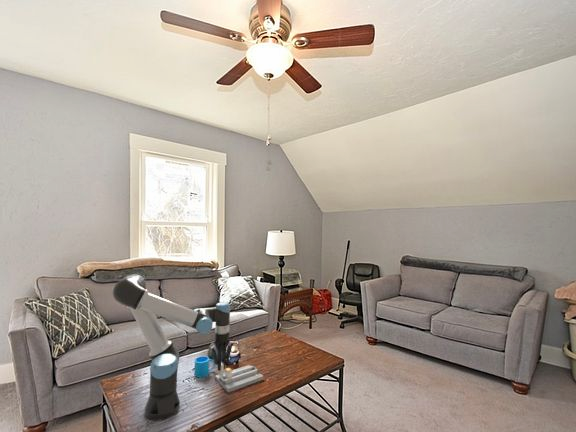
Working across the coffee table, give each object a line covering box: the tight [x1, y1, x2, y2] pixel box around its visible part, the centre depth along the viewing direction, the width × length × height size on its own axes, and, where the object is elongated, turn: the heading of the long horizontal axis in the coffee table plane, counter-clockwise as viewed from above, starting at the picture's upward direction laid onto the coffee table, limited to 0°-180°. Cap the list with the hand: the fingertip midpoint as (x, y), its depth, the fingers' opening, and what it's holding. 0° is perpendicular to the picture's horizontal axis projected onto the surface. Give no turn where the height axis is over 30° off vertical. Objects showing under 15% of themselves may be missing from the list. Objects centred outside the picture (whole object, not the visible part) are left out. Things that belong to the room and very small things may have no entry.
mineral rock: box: [206, 342, 222, 359], centre depth 188 cm, size 13×11×10 cm
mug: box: [193, 355, 216, 378], centre depth 170 cm, size 12×8×8 cm
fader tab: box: [224, 367, 233, 379], centre depth 159 cm, size 2×3×5 cm
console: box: [214, 364, 264, 393], centre depth 163 cm, size 22×16×4 cm
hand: (221, 375), depth 157 cm, fingers closed
